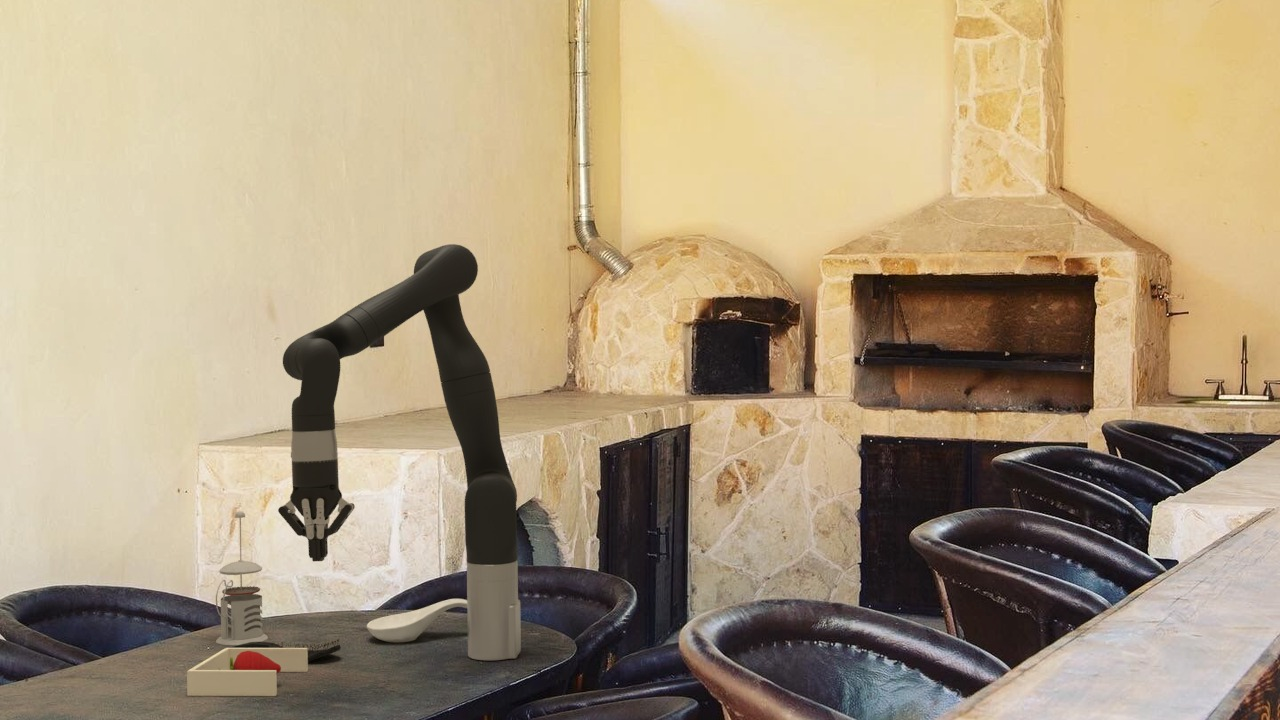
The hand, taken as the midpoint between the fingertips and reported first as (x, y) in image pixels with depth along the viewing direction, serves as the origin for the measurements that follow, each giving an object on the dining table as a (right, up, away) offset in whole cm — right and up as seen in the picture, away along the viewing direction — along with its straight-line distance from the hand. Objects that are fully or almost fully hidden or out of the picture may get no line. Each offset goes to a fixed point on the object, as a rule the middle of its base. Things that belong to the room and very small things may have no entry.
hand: (318, 560), depth 219 cm
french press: (-24, -21, +34) cm, 47 cm away
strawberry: (-6, -18, -1) cm, 19 cm away
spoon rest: (+13, -21, +35) cm, 43 cm away
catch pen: (-12, -21, +1) cm, 24 cm away
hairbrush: (-12, -21, +21) cm, 32 cm away
